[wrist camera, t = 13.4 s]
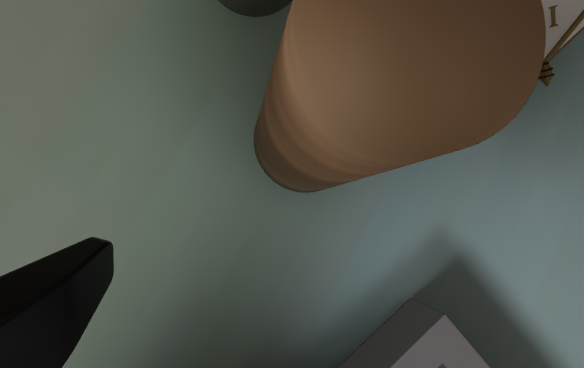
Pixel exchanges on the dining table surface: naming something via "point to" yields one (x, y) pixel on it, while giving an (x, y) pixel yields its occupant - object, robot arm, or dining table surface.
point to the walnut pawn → (392, 84)
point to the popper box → (416, 343)
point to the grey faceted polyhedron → (560, 29)
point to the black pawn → (255, 6)
